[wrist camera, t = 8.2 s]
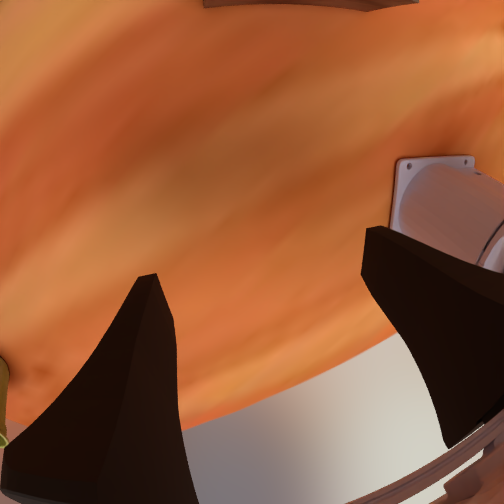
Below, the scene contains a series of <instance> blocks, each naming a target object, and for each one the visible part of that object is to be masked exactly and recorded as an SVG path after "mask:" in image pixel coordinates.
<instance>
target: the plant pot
mask: <svg viewBox="0 0 504 504" xmlns="http://www.w3.org/2000/svg"><path fill="white" fill-rule="evenodd" d="M9 375H10V374H9V371H8V366H7V364H6V363H5V361H4V360H3V359H2V358H1V357H0V448H4V447H5V446H7V445H8V444H9V440H8V438H7V437H6V433H7V432H6V431H7V429H6V425H5V415H6V400H7V390H8V382H9Z"/></svg>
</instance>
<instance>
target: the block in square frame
mask: <svg viewBox="0 0 504 504" xmlns="http://www.w3.org/2000/svg"><path fill="white" fill-rule="evenodd" d="M414 3H419V0H203V5H204V8H210V7H219V6H231V5H246V4H303V5H318V6H330V7H339V8H347V9H354V10H361V11H367V12H368V11H373V10H377V9H383V8H388V7H394V6H400V5H406V4H414Z"/></svg>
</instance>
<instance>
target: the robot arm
mask: <svg viewBox="0 0 504 504" xmlns="http://www.w3.org/2000/svg"><path fill="white" fill-rule="evenodd" d="M408 163H409V165H408V167H407V164H408ZM474 164H475V158H474V157H473V156H471V155H460V156H436V157H419V158H405V159H400V160H399V161H398V162H397V165H396V177H395V188H394V198H393V206H392V214H391V222H390V228H387V227H384V226H375V227H371V228H366V236H365V245H364V253H363V261H362V269H361V276H362V278H363V280H364V282H365V284H366V286H367V288H368V289H369V291H370V293H371V295H372V296H373V298H374V299H375V301H376V302H377V304H378V305H379V306H380V308H381V309H382V311H383V312H384V313H385V315H386V316H387V318H388V319H389V320H390V322H391V323H392V325H393V326H394V327H395V329H396V330H397V332H398V333H399V334H400V336H401V337H402V339H403V340H404V341H405V343H406V345H407V347H408V348H409V350H410V352H411V354H412V356H413V358H414V360H415V362H416V364H417V366H418V368H419V370H420V372H421V374H422V377H423V379H424V381H425V383H426V386H427V388H428V391H429V393H430V396H431V399H432V402H433V405H434V407H435V410H436V414H437V417H438V421H439V424H440V428H441V432H442V437H443V441H444V443H445V445H446V446H447V448H448V449H450V448H452V447H453V446H455V445H456V444H458V443H459V442H460V441H462V440H463V439H465V438H466V437H467V436H469V435H470V434H472V433H473V432H474V431H475V430H477V429H478V428H479V427H481V426H482V425H483V424H485V425H484V426H482V428H480V429H479V430H477V431H476V432H475V433H473V434H472V435H471V436H469V437H468V438H467V439H465V440H464V441H462V442H461V443H460V444H458V445H457V446H455V447H454V448H453V449H451V450H450V451H448V452H447V453H445V454H443V455H442V456H440V457H438V458H437V459H435V460H433V461H432V462H430V463H428V464H427V465H425V466H423V467H422V468H420V469H418V470H416V471H415V472H413V473H411V474H409V475H407V476H405V477H403V478H402V479H400V480H398V481H396V482H394V483H392V484H390V485H388V486H386V487H383V488H381V489H379V490H377V491H375V492H372V493H370V494H368V495H366V496H363V497H361V498H359V499H356V500H353V501H351V502H348V503H346V504H398V503H400V502H402V501H404V500H406V499H408V498H410V497H412V496H413V495H415V494H417V493H419V492H420V491H422V490H424V489H426V488H427V487H429V486H431V485H432V484H434V483H435V482H437V481H439V480H440V479H441V478H443V477H445V476H446V475H448V474H449V473H451V472H452V471H454V470H455V469H457V468H458V467H459V466H461V465H462V464H464V463H465V462H466V461H468V460H469V459H470V458H472V457H473V456H474V455H476V454H477V453H478V452H480V450H482V449H483V448H484V450H483V456H482V457H481V458H480V459H478V460H477V461H475V462H474V463H473V464H471V465H470V466H468V467H467V468H465V469H464V470H462V471H461V472H459V473H458V474H457V475H455V476H454V477H453V478H451V479H450V480H449V481H447V482H446V483H445V484H444V489H445V491H446V494H444V495H443V496H441V497H439V498H438V499H436V500H434V501H433V502H431V503H429V504H504V184H502V183H501V182H499V181H497V180H495V179H494V178H492V177H490V176H488V175H486V174H485V173H483V172H481V171H479V170H477V169H475V168H474ZM2 463H3V464H2V471H1V484H0V490H1V491H2V493H3V494H4V495H5V496H7V497H9V498H11V499H13V500H15V501H17V502H19V503H21V504H199V502H198V499H197V496H196V492H195V489H194V485H193V481H192V478H191V474H190V470H189V465H188V461H187V456H186V452H185V447H184V442H183V437H182V431H181V425H180V419H179V411H178V394H177V344H176V336H175V328H174V320H173V316H172V314H171V311H170V309H169V306H168V303H167V301H166V298H165V296H164V293H163V290H162V288H161V285H160V282H159V279H158V276H157V274H156V273H154V274H150V275H145V276H140V277H138V278H137V280H136V282H135V283H134V285H133V287H132V288H131V290H130V292H129V294H128V295H127V297H126V299H125V301H124V302H123V304H122V306H121V308H120V309H119V311H118V313H117V315H116V316H115V318H114V320H113V321H112V323H111V325H110V327H109V328H108V330H107V331H106V333H105V334H104V336H103V338H102V339H101V341H100V342H99V344H98V346H97V347H96V349H95V350H94V352H93V353H92V354H91V356H90V357H89V359H88V360H87V361H86V363H85V364H84V365H83V367H82V368H81V369H80V371H79V372H78V373H77V375H76V376H75V377H74V378H73V380H72V381H71V382H70V383H69V384H68V385H67V387H66V388H65V389H64V390H63V391H62V393H61V394H60V395H59V396H58V397H57V398H56V400H55V401H54V402H53V403H52V404H51V405H50V406H49V407H48V408H47V409H46V410H45V411H44V412H43V413H42V414H41V415H40V416H39V417H38V418H37V419H36V420H35V421H34V422H33V423H32V424H31V425H30V426H29V427H28V428H27V429H25V430H24V431H23V432H22V433H21V434H20V435H19V436H17V437H16V438H15V439H14V440H13V441H11V442H10V443H9V444H8V445H7V446H5V447H4V454H3V462H2Z"/></svg>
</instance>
